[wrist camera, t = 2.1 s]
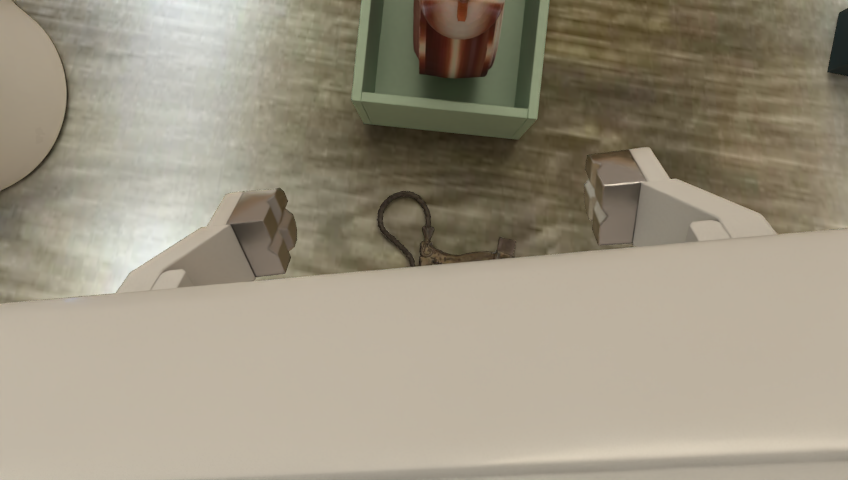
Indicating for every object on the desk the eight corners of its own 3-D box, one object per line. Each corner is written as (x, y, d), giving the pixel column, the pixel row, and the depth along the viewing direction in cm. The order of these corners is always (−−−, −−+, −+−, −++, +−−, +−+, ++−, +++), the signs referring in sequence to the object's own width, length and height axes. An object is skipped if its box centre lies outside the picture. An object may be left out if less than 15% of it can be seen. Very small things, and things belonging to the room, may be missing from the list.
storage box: (363, 123, 37) (350, 100, 31) (385, -87, 37) (377, -153, 31) (518, 139, 37) (537, 119, 31) (540, -72, 37) (563, -135, 31)
